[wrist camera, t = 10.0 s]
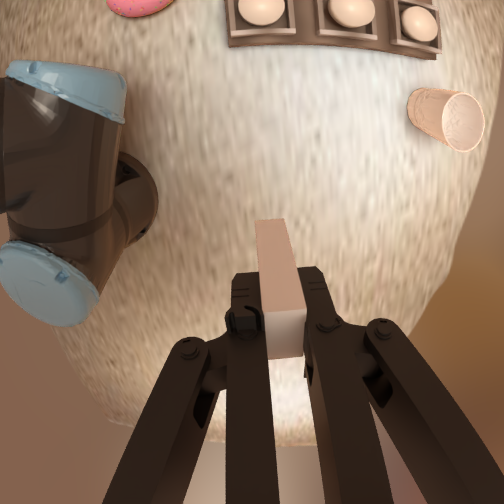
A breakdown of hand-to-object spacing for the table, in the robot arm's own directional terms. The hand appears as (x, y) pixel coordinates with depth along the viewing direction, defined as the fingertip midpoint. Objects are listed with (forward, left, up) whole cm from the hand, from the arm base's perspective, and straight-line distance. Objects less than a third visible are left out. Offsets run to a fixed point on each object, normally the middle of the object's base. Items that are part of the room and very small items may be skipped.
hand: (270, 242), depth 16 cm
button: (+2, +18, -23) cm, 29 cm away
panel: (+12, +19, -26) cm, 35 cm away
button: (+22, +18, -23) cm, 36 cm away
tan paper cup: (+26, +5, -27) cm, 38 cm away
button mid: (+12, +18, -21) cm, 30 cm away
